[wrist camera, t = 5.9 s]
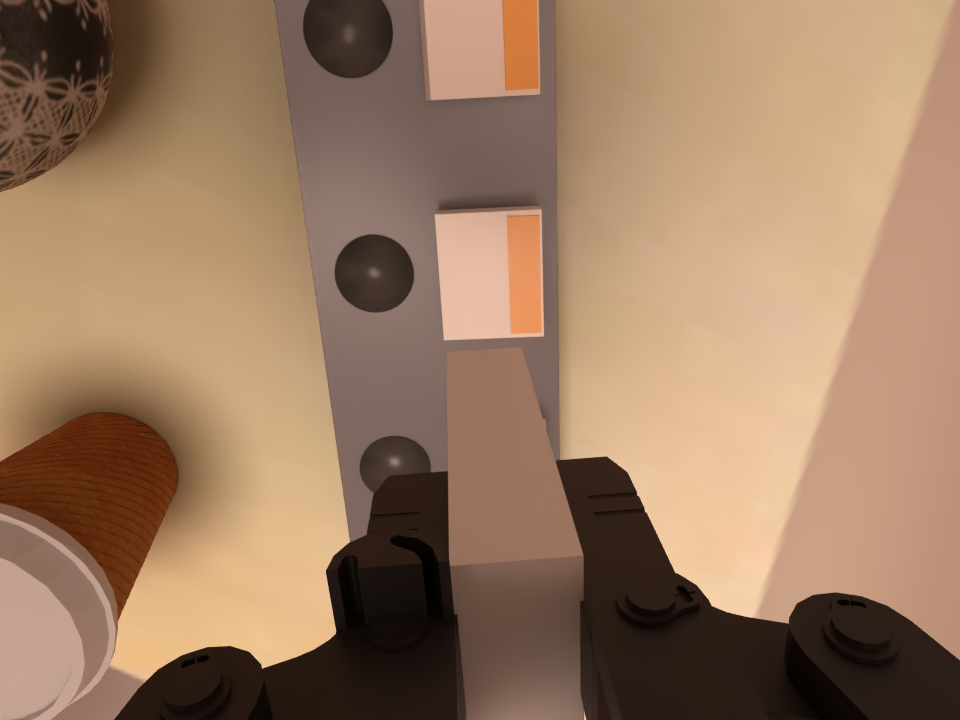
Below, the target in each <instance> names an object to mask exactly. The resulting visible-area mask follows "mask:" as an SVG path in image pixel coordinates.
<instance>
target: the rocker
mask: <svg viewBox="0 0 960 720" xmlns="http://www.w3.org/2000/svg"><path fill="white" fill-rule="evenodd" d="M419 14H420V28H421V41H422V55H423V68H424V82H425V96H426V101H428V100H446V99H465V98H483V97H502V96H520V95H539V94H540V47H539V0H419Z"/></svg>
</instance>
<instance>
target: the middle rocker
mask: <svg viewBox="0 0 960 720" xmlns="http://www.w3.org/2000/svg"><path fill="white" fill-rule="evenodd" d="M435 225H436V239H437V253H438V266H439V280H440V294H441V307H442V321H443V335H444V340H466V339H491V338H516V337H541V336H544V310H543V255H542V209H541V206H519V207H498V208H476V209H455V210H437V211H436V213H435Z"/></svg>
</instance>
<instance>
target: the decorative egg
mask: <svg viewBox="0 0 960 720" xmlns="http://www.w3.org/2000/svg"><path fill="white" fill-rule="evenodd" d="M113 63H114V41H113V31H112V24H111V17H110V11H109V8H108V4H107V0H0V192H2V191H5V190H8V189H12V188H14V187H17V186H19V185H22V184H24V183H26V182H28V181H30V180H32V179H34V178H36V177H38V176H40V175H42V174H44V173H45V172H47V171H48V170H50V169H52V168H53V167H55V166H57V165H58V164H59V163H60V162H62V161H63V160H64V159H65V158H66V157H67V156H68V155H69V154H71V153H72V152H73V151H74V150H75V149H76V148H77V147H78V146H79V145H80V143H81V142H82V141H83V140H84V139H85V138H86V136H87V135H88V134H89V132H90V131H91V129H92V127H93V126H94V124H95V122H96V121H97V119H98V117H99V115H100V113H101V111H102V109H103V107H104V104H105V101H106V98H107V96H108V92H109V88H110V83H111V78H112V73H113Z"/></svg>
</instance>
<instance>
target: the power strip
mask: <svg viewBox="0 0 960 720" xmlns="http://www.w3.org/2000/svg"><path fill="white" fill-rule="evenodd" d="M274 1H275V8H276V15H277V23H278V30H279V37H280V44H281V51H282V58H283V65H284V73H285V80H286V87H287V94H288V101H289V108H290V115H291V123H292V130H293V137H294V144H295V151H296V158H297V165H298V173H299V180H300V187H301V194H302V201H303V208H304V215H305V223H306V230H307V237H308V244H309V251H310V258H311V265H312V273H313V280H314V287H315V294H316V301H317V308H318V315H319V323H320V330H321V337H322V344H323V351H324V358H325V365H326V373H327V380H328V387H329V394H330V401H331V408H332V415H333V423H334V430H335V437H336V444H337V451H338V458H339V465H340V473H341V480H342V487H343V494H344V501H345V508H346V515H347V523H348V530H349V537H350V542H352V541H354V540H356V539H358V538H361V537H363V536H365V535H367V528H368V522H369V519H370V510H371V505H372V499H373V494H374V493H375V492H376V491H377V489H378V488H379V487H380V486H381V485H382V483H383V482H384V481H385V480H386V479H387V478H388V476H390V475H403V474H416V473H429V472H442V471H448V429H447V352H459V351H473V350H486V349H500V348H514V347H522V350H523V354H524V357H525V361H526V364H527V367H528V371H529V374H530V377H531V381H532V384H533V387H534V391H535V394H536V398H537V401H538V404H539V408H540V411H541V414H542V418H543V419H546V431H547V434H548V438H549V441H550V445H551V448H552V451H553V455H554V458H555V461H556V460H560V447H559V352H558V258H557V163H556V68H555V0H539V47H540V94H539V95H520V96H502V97H483V98H465V99H446V100H428V101H426V96H425V82H424V68H423V55H422V41H421V28H420V14H419V0H274ZM519 206H541V209H542V255H543V310H544V336H541V337H516V338H491V339H466V340H444V335H443V321H442V307H441V294H440V280H439V266H438V253H437V239H436V225H435V213H436V211H437V210H455V209H476V208H498V207H519Z"/></svg>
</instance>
